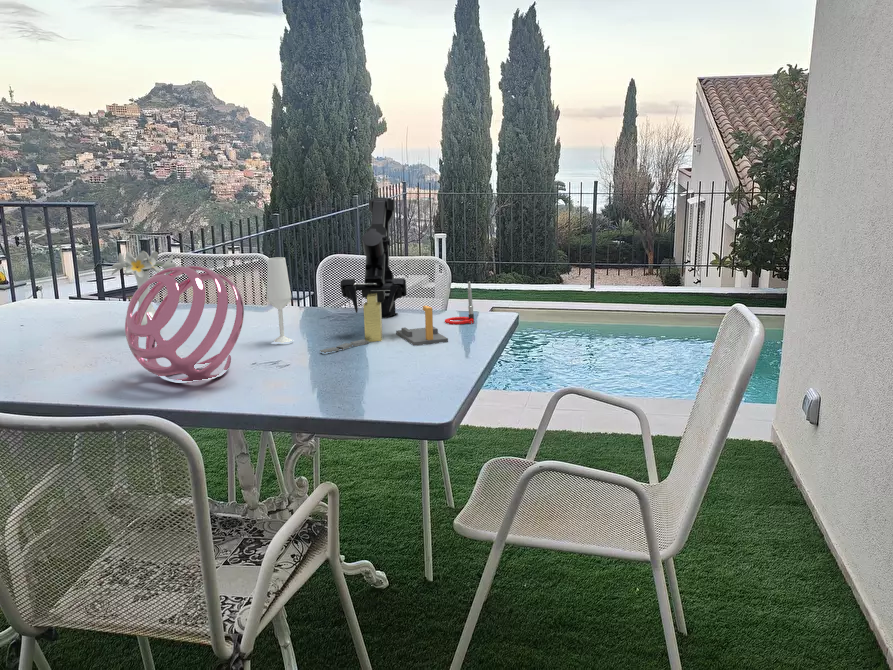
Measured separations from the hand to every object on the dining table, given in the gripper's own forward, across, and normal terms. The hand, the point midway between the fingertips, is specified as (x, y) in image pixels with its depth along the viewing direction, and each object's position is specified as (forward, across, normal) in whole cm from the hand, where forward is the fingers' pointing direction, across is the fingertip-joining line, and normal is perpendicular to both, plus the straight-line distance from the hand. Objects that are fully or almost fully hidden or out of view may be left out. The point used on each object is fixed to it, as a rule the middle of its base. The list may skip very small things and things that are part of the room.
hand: (372, 311), depth 204 cm
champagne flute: (+7, +26, -5) cm, 27 cm away
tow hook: (-10, -25, -22) cm, 34 cm away
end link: (+6, 0, -6) cm, 8 cm away
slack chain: (+12, +7, +1) cm, 14 cm away
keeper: (+5, -14, -7) cm, 16 cm away
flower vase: (-5, +71, -17) cm, 73 cm away
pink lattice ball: (+32, +40, +20) cm, 55 cm away
